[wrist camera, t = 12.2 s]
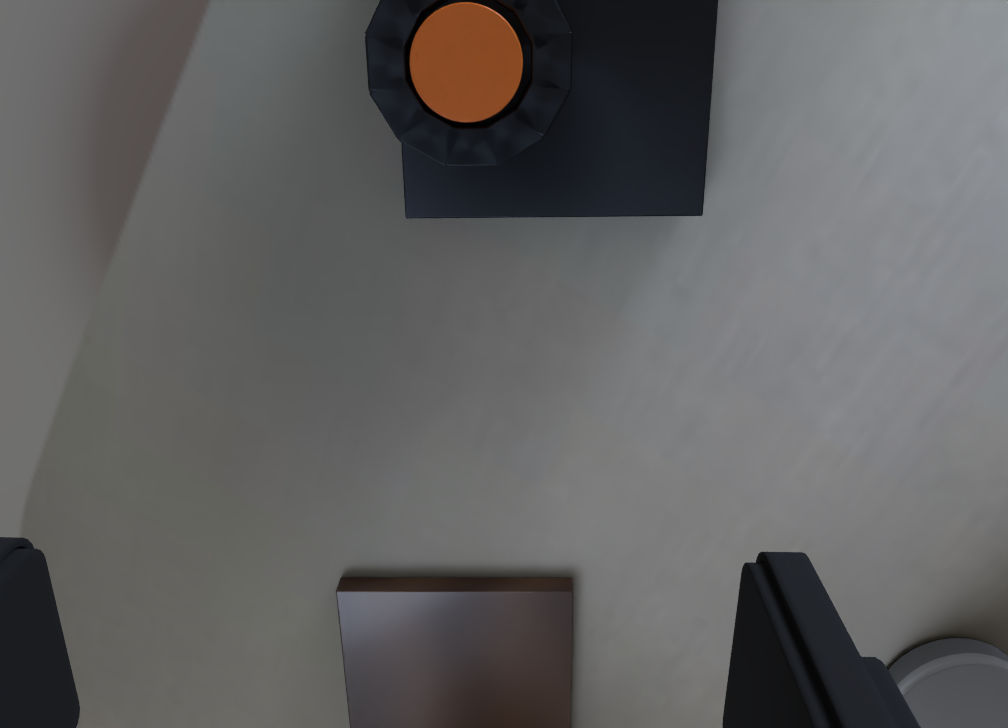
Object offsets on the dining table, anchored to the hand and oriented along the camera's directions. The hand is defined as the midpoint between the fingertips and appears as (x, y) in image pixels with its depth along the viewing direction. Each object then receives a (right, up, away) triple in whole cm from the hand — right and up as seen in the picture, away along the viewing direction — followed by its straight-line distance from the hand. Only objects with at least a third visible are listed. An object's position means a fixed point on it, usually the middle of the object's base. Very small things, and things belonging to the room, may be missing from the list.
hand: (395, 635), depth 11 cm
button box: (+3, +14, +17) cm, 23 cm away
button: (0, +13, +14) cm, 19 cm away
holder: (0, -15, +29) cm, 32 cm away
